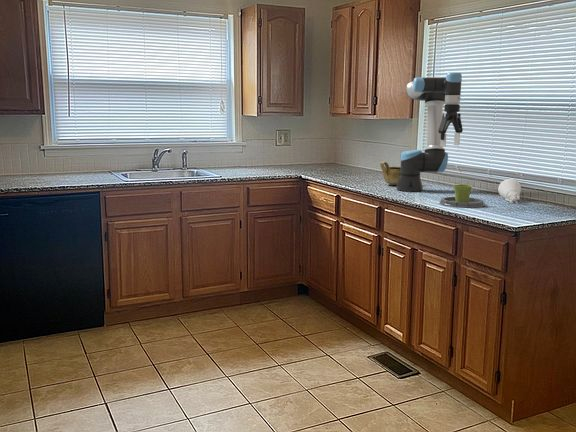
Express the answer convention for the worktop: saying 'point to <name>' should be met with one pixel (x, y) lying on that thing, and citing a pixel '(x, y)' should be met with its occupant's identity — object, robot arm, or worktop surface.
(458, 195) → the plant pot
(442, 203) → the saucer
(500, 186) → the white teardrop lump
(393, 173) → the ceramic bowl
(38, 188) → the worktop surface
